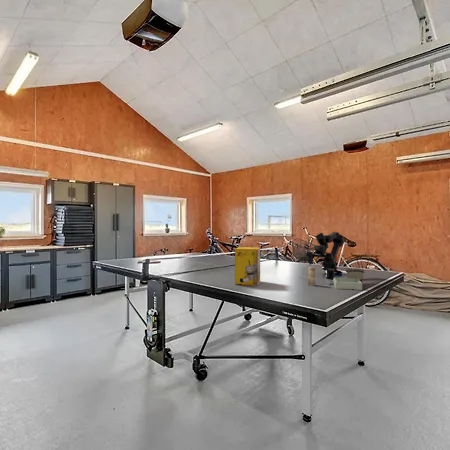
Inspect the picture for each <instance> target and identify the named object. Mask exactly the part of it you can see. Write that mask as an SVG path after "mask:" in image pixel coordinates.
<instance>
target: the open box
mask: <svg viewBox="0 0 450 450" xmlns="http://www.w3.org/2000/svg"><path fill="white" fill-rule="evenodd" d="M332 284H333V287H334V289H336V290H337V289H338V290H339V289H340V290H352V289H354V290H355V291H362V290H363V283H362V282H361V281H360V280H359V279H354V278H346V277H335V278H333V279H332Z"/></svg>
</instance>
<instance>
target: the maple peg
mask: <svg viewBox="0 0 450 450" xmlns="http://www.w3.org/2000/svg"><path fill="white" fill-rule="evenodd" d="M307 268H308V269H307V278H308V279H307V285H308V286H312V287H313V286H315V284H316V267H314V266H312V267H311V266H309V267H307Z"/></svg>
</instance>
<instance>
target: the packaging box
mask: <svg viewBox="0 0 450 450" xmlns="http://www.w3.org/2000/svg"><path fill="white" fill-rule="evenodd" d="M260 282H261V247H254V246H253V247H252V246H251V247H249V246H247V247H242V246H241V247H239V246H238V247H236V248H235V249H234V285H235V284H242V285H241V286H255V285H258V286H259V284H260Z"/></svg>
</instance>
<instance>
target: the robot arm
mask: <svg viewBox="0 0 450 450" xmlns="http://www.w3.org/2000/svg"><path fill="white" fill-rule="evenodd" d="M315 239H316V242H317V244H319V245H316V244H315V245H314V248H313V251H314V252H315V253H313V251H307V252H306V253H305V255H306V257H307V259H309V265H310V266H311V265H312V263H313V262H314V259H315V258H320V259H321V258H323V261H322V263H321V266H322V267H323V271H326V276H325V279H327V280H333V278H336V277H335V272H337V271H338V266H337V264H336V258H337V256H338V252H339V250H340V248H341V247H343V245H344V243H345V237H344V236H343V235H342V234H340V232H338V231H337V232H336V231H335V232H334V231H333V232H330V233H329V234H327V235H325V234H324V233H323V232H320V233H318V234H316V235H315ZM331 243H332V244H333V245H332V248H331V251H330V252H327V250H328V249H329V244H331Z"/></svg>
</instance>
